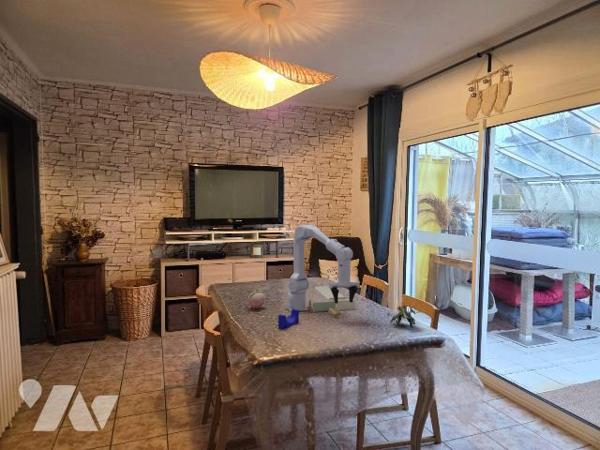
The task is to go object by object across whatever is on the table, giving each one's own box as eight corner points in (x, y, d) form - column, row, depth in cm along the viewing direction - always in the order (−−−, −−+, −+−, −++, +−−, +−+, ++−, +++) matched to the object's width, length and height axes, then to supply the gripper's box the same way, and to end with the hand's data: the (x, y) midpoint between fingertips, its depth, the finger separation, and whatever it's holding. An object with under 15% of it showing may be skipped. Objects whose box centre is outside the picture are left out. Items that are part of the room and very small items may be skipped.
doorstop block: (334, 318, 184) (334, 313, 184) (328, 312, 194) (328, 307, 193) (342, 318, 185) (342, 313, 184) (336, 312, 194) (336, 307, 194)
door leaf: (313, 311, 193) (313, 302, 193) (312, 310, 195) (312, 302, 194) (335, 310, 197) (335, 301, 196) (334, 309, 198) (334, 300, 198)
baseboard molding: (325, 300, 219) (345, 299, 222) (325, 295, 219) (345, 294, 221) (312, 288, 249) (329, 288, 252) (312, 284, 249) (329, 283, 252)
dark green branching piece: (410, 339, 171) (423, 322, 164) (388, 336, 169) (400, 318, 162) (404, 319, 180) (415, 302, 173) (382, 315, 178) (393, 298, 171)
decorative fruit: (256, 305, 204) (256, 287, 203) (268, 308, 199) (268, 289, 199) (243, 309, 196) (244, 290, 196) (255, 312, 192) (256, 292, 191)
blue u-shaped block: (290, 321, 179) (290, 308, 178) (298, 322, 176) (298, 309, 176) (275, 328, 168) (275, 314, 168) (283, 329, 166) (284, 316, 166)
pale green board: (309, 312, 192) (309, 300, 192) (308, 311, 193) (308, 300, 193) (355, 308, 200) (355, 297, 199) (354, 308, 201) (354, 297, 201)
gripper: (332, 276, 173) (332, 305, 174) (362, 274, 177) (361, 303, 178) (327, 273, 179) (326, 302, 180) (355, 271, 184) (354, 300, 185)
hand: (343, 302), depth 180 cm, fingers open, 7 cm apart
